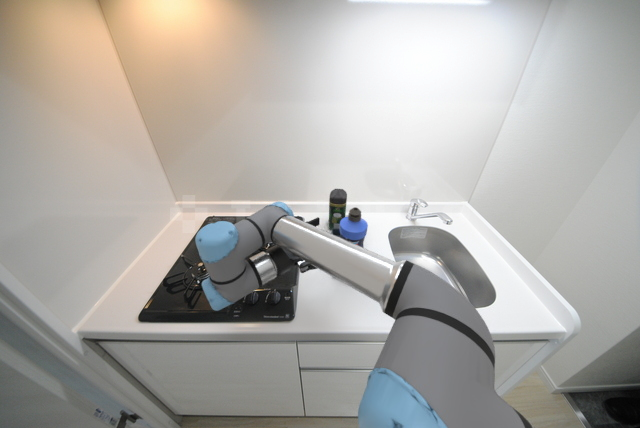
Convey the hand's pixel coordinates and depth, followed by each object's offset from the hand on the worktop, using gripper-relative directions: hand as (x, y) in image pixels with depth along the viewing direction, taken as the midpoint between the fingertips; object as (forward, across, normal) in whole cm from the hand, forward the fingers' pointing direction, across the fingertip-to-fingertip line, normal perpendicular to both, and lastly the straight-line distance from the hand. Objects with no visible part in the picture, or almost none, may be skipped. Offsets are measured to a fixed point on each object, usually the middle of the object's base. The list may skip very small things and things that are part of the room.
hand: (332, 230), depth 64 cm
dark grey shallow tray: (+13, -5, -22) cm, 26 cm away
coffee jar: (+23, -22, -22) cm, 38 cm away
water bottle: (+10, 0, -21) cm, 23 cm away
